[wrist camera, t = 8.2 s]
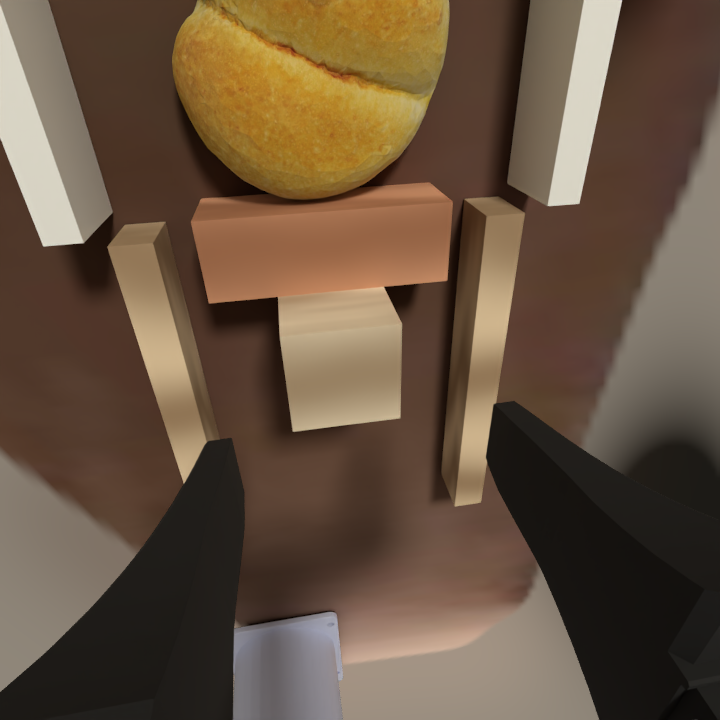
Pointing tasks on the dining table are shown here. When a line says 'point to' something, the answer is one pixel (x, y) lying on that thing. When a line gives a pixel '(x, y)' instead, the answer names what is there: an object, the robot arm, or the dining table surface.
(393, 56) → the bread roll
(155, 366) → the slot rails
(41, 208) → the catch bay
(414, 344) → the dining table surface
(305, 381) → the two-tone t block
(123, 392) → the dining table surface
